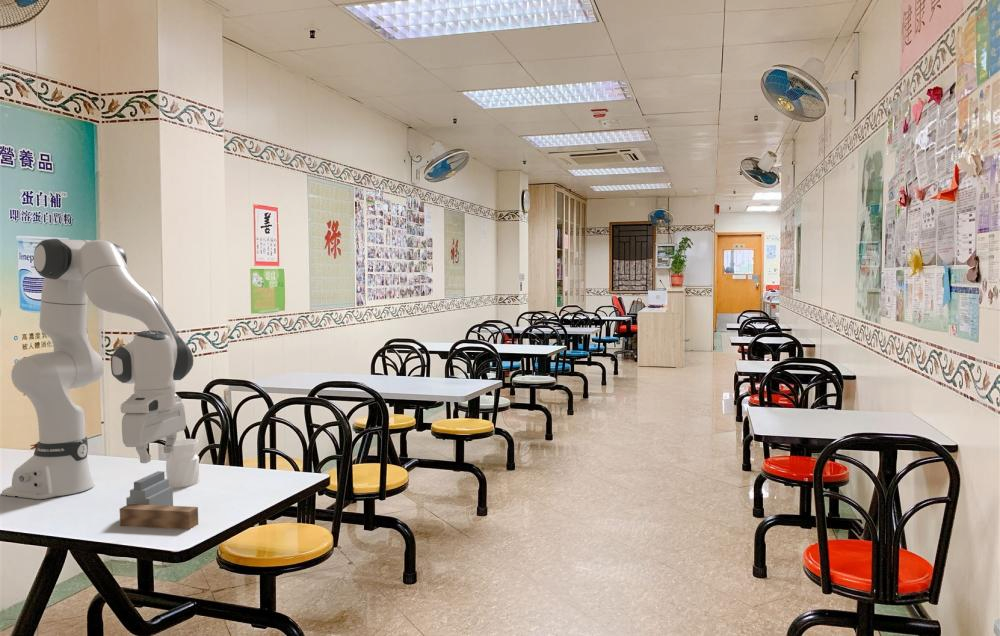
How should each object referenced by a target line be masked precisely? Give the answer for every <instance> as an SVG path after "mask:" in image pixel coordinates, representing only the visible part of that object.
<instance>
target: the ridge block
mask: <svg viewBox="0 0 1000 636" xmlns="http://www.w3.org/2000/svg"><path fill="white" fill-rule="evenodd" d="M165 477H166V476H165V471H162V470H161V471H160V470H159V471H156V472H153V473H151V474H149V475H147V476H145V477H142V478H140V479H138V480H135V481H134V482H133V488H131V489H130V490H129V496H127V497H126V501H125V502H126V505H128V504H139V505H163V506H174V491H173V490H174V489H173V488H174V487H169V479H167V478H165Z"/></svg>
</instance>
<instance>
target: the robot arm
mask: <svg viewBox="0 0 1000 636" xmlns="http://www.w3.org/2000/svg"><path fill="white" fill-rule="evenodd" d="M127 259H128V258H127V254H126V253H125V251H124V249H123V247H122V246H120V245H117V244H116V243H112V242H110V241H108V240H105V239H94V240H91V239H90V240H89V239H58V238H49V239H43V240H42V241H40V242H38V244H37V245H36V247H35V249H34V252H33V265H34V269H35V271H36V273H38V275H40V277H43V278H44V279H43V282H42V283H43V285H42V287H41V299H40V311H39V313H40V314H39V329H40V330H41V332H42V333H43V334H44V335H45V336H48V337H49V338H50V339H51V341H52V345H53V351H51V352H50V351H48V352H41V353H35V354H31V355H29V356H26V357H23V358H20V359H19V360H17V361H15V363H14V364H13V367H12V370H11V374H10V375H11V377H10V378H11V382H12V384H13V386H14V388H15V389H17V390H18V391H19V392H20V393H22V394H24V395H25V396H26V397H27V398H28V400H30V402H31V404H32V406H33V407H34V410H35V413H36V416H37V417H36V418H37V423H38V426H37V427H38V437H39V438H38V440H39V441H38V442H36V443H35V444H30V447H31V448H30V450H33V449H34V452H33V455H31V457H30V458H28V459H27V460H26V461H25V462H24V463H22V464H20V466H18V467H17V468H16V469H15V470H14V472H12V473H13V474H12V478H11V485H10V486H8V487H6V488H5V489H3V490H2V491H1V496H6V495H7V496H9V497H15V496H18V497H17V498H25V499H34V500H46V499H49V498H54V497H62V496H68V495H69V496H70V495H73V494H78V493H81V492H86V491H88V490H90V489H92V488H94V486H95V483H94V481H93V478H92V475H91V470H90V467H89V461H88V450H89V443H88V441H89V440H88V437H87V436H86V416H85V411H84V409H83V407H81V405H78V404H76V403H74V402H73V400H72V398H71V396H70V393H69V392H70V391H69V390H72V389H77V388H82V387H83V388H84V387H86V386H88V385H90V384H92V383H95V382H97V381H98V380H99V379H101V377H102V376H103V374H104V371H105V363H104V360H103V358H102V355H100V354H99V353H98V352H97V351H96V350H95V349H94V347H92V344H91V342H90V340H89V335H88V330H87V327H88V325H87V323H88V302H89V300H90V302H91V303H92V305H94V306H95V307H96V308H98V309H100V310H102V311H104V312H108V313H112V314H117V315H122V316H125V317H130V318H133V319H136V320H138V321H140V322H142V323H143V324H144V325H145V326H146V327H147V328H148V330H143V331H142V330H141V331H138V332H136V333H135V334H134V335H133V340H132V341H130V342H128V343H127V344H125V345H120V346H119V347H117V348H116V349H115V350H114V352H113V353H112V354H111V356H110V369H111V374H112V376H113V377H114V379H116V380H117V381H119V382H120V383H122V384H134V387H133V394H131V395H130V396H129V397H128V399H126V400H125V401H124V402H122V403H121V404H120V413H122V414H123V416H122V419H121V438H122V443H123V444H124V446H125V447H127V448H135V450H136V453H137V454H138V455H139V462H140V464H147V463H150V462H151V460H152V459H151V457H152V456H151V453H149V452H148V450H147V449H149V444H151V443H153V442H156V441H158V440H162V439H164V438H166V440H165V444H166V445H163V453H164V454H167V453H171V452H173V451H174V443H175V440H177V437H178V436H177V435H178V434H177V433H179V432H183V431H185V430H186V427H187V417H186V410H185V405H184V403H183V402H182V397H180V396H179V395H178V394H177V392H176V383H175V382H176V381H181V380H182V379H184V378H185V377H186V376H188V374H189V373H190V372H191V370H192V368H193V366H194V355H193V353H192V350H191V348H190V347H189V345H187V343H186V342H185V341H184V340H183V339H182V337H181V336H180V335H179V333H178V332H177V330H176V329H175V327H174V325H173V323H172V322H171V321H170V319H169V317H168V316H167V314H166V313H165V310H164V309H163V308H162V306H161V304H160V303H159V301H158V300H157V298H156V297H155V296H154V295H153V294H152V293H151V292H149V291H148V290H145V288H143V287H142V286H140V284H138V282H137V281H136V280H135V279H134V278H133V276H132V274H131V271H130V270H129V267H128V265H127V264H128V261H127ZM7 496H6V497H7Z"/></svg>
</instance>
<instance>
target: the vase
mask: <svg viewBox="0 0 1000 636" xmlns="http://www.w3.org/2000/svg"><path fill="white" fill-rule="evenodd" d="M165 445H166V443H165ZM165 445H164V446H165ZM198 451H199V440H198V439H197V438H196V439H195V438H194V439H193V438H181V439H176V440H175V443H174V451H173V452H171V453H166V454H167V455H168V456H169V457H167V458H166V460H165V461H166V462H165V474H166V479H169V487H173V488H187V487H192V486H194V485H197V484H199V483H200V482H201V481H200V480H201V476H200V456H199V455H198V454H196V452H198Z"/></svg>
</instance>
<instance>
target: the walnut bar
mask: <svg viewBox="0 0 1000 636" xmlns="http://www.w3.org/2000/svg"><path fill="white" fill-rule="evenodd" d="M196 525H197V526H199V507H198V506H181V505H173V506H163V505H139V504H128V505H127V504H126V505H125V506H122V507H120V508H119V526H120V527H128V528H129V527H130V528H131V527H132V528H148V529H149V528H151V529H153V528H155V529H170V528H172V529H174V530H175V529H176V530H191V528H192V529H193V528H195V527H197V526H196ZM194 526H195V527H194Z"/></svg>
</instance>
